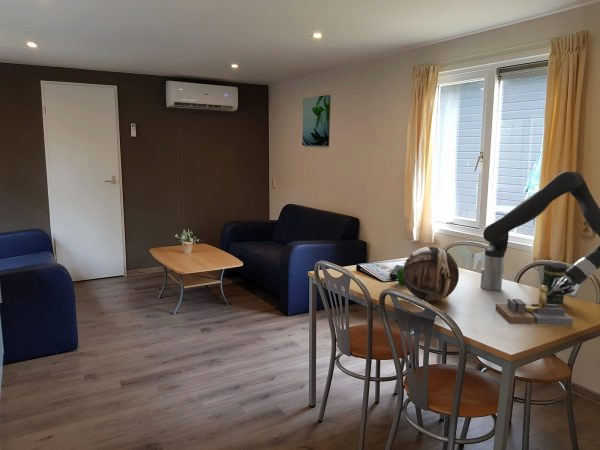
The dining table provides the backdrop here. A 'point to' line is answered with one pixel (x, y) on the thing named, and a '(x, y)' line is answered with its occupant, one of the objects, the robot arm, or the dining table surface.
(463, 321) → the dining table surface
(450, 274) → the sphere
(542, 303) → the bolt
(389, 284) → the dining table surface
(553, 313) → the door edge model
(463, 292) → the dining table surface
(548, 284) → the coffee jar
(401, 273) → the bell pepper
